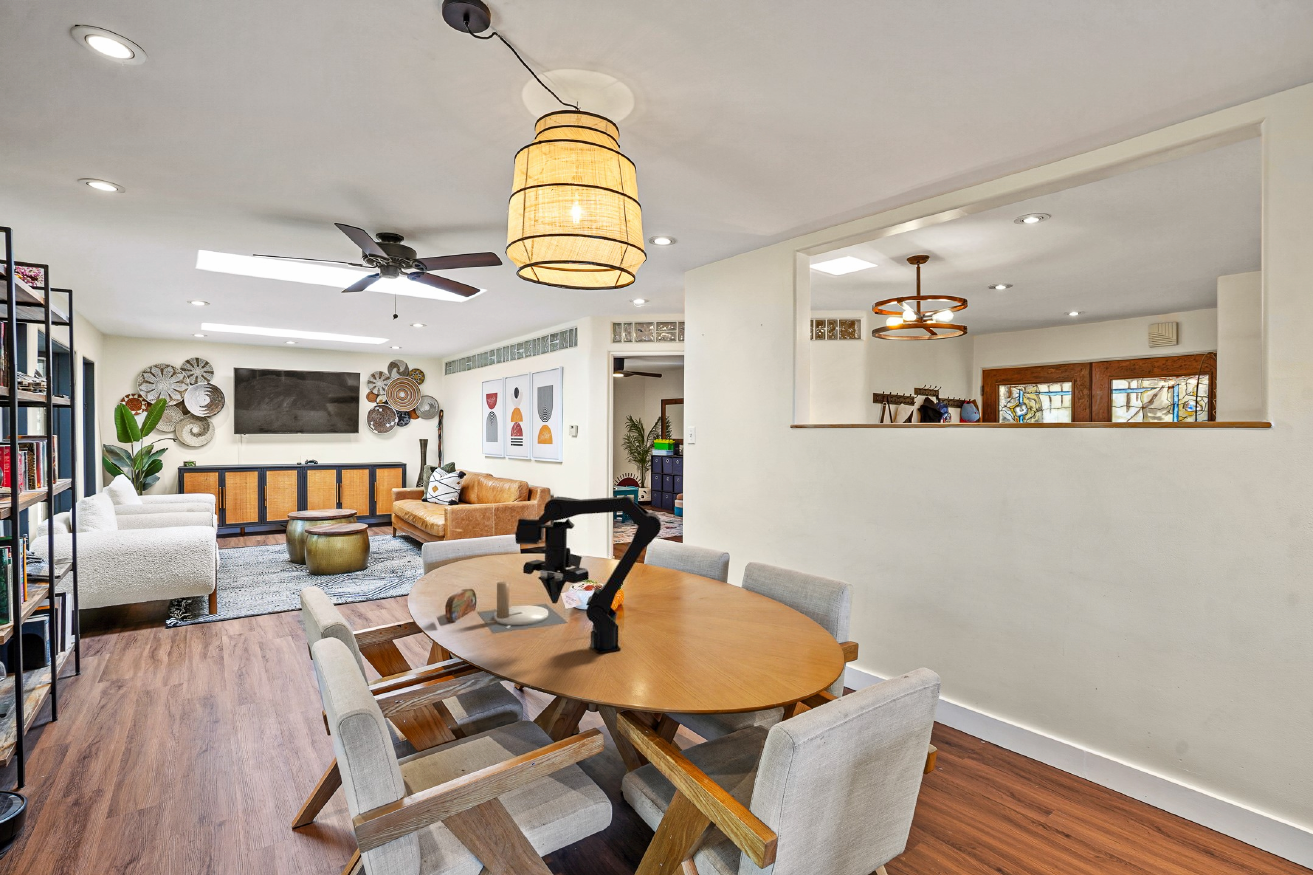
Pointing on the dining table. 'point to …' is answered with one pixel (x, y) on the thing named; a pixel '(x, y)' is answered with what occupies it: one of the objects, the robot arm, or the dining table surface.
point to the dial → (516, 610)
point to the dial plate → (497, 627)
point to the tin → (460, 604)
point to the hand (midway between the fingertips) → (554, 603)
